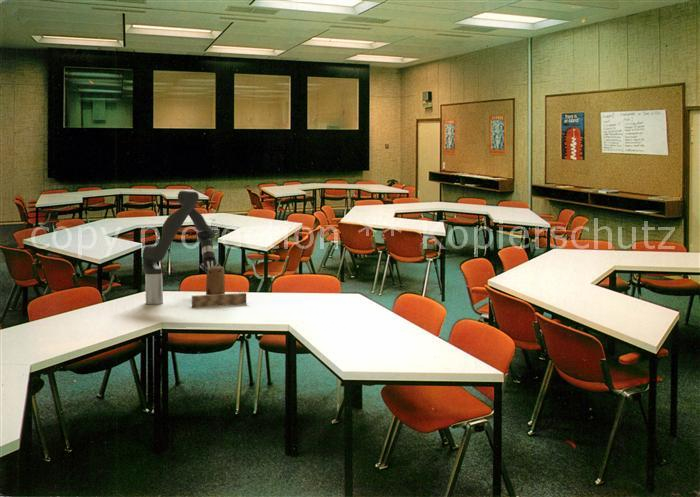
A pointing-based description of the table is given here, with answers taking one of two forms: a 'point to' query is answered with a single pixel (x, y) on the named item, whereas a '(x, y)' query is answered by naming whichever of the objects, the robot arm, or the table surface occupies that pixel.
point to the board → (218, 299)
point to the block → (215, 281)
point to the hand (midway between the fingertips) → (211, 276)
